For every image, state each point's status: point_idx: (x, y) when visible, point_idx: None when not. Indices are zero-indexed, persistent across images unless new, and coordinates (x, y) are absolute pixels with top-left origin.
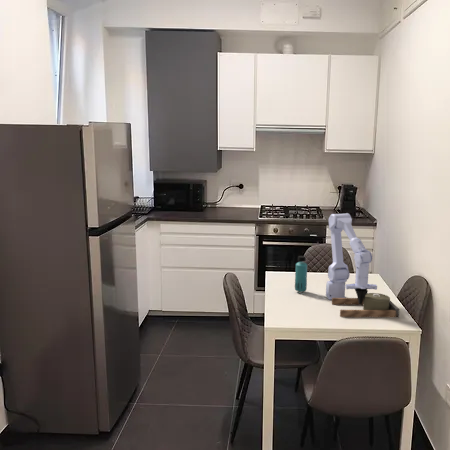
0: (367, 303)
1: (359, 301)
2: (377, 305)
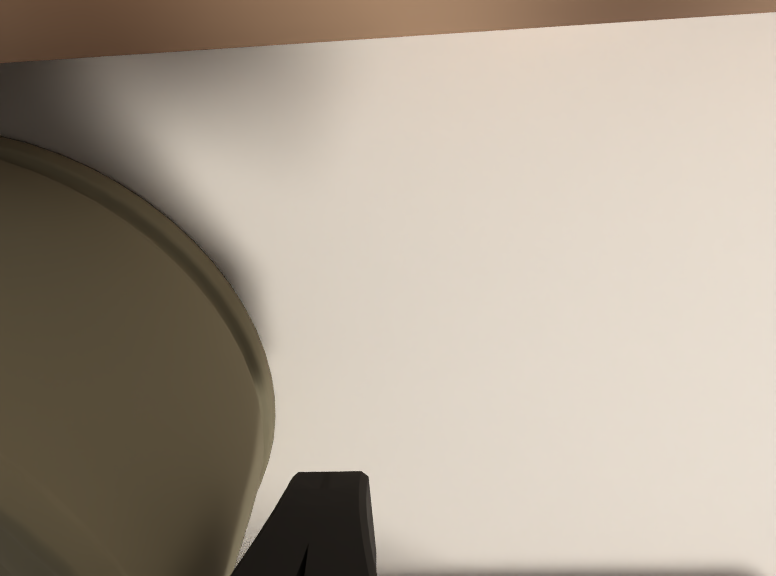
0: (123, 408)
1: (368, 532)
2: None
